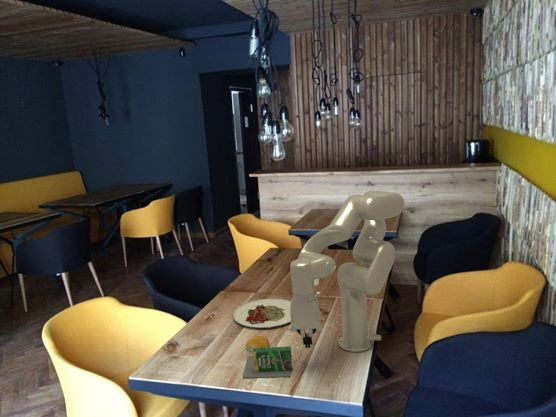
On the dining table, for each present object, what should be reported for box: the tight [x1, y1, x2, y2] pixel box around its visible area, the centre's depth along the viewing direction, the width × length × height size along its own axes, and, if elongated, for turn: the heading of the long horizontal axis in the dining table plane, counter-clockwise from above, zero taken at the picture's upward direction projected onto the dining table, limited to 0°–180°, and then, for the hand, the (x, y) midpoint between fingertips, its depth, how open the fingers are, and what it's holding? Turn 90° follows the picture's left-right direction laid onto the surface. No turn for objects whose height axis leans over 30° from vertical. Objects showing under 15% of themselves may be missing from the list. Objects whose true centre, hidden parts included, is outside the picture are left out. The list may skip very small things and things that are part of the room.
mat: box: [242, 355, 292, 380], centre depth 155 cm, size 16×14×1 cm
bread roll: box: [245, 335, 270, 353], centre depth 169 cm, size 8×9×4 cm
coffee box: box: [252, 346, 293, 372], centre depth 151 cm, size 8×3×13 cm
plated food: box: [232, 298, 291, 329], centre depth 197 cm, size 30×30×3 cm
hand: (307, 346), depth 151 cm, fingers closed
